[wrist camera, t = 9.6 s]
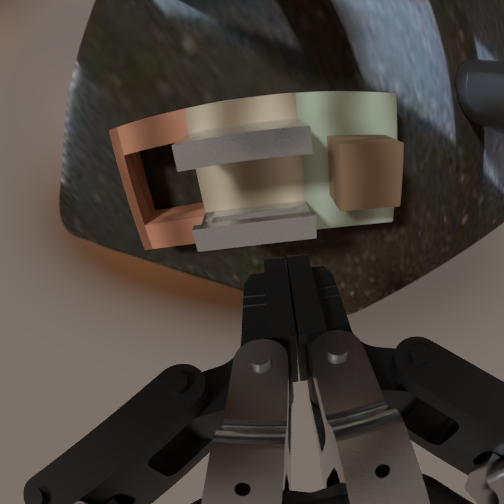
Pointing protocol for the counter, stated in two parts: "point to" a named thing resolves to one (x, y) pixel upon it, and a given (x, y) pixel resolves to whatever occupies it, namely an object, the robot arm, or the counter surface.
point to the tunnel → (243, 149)
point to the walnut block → (365, 171)
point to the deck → (252, 171)
